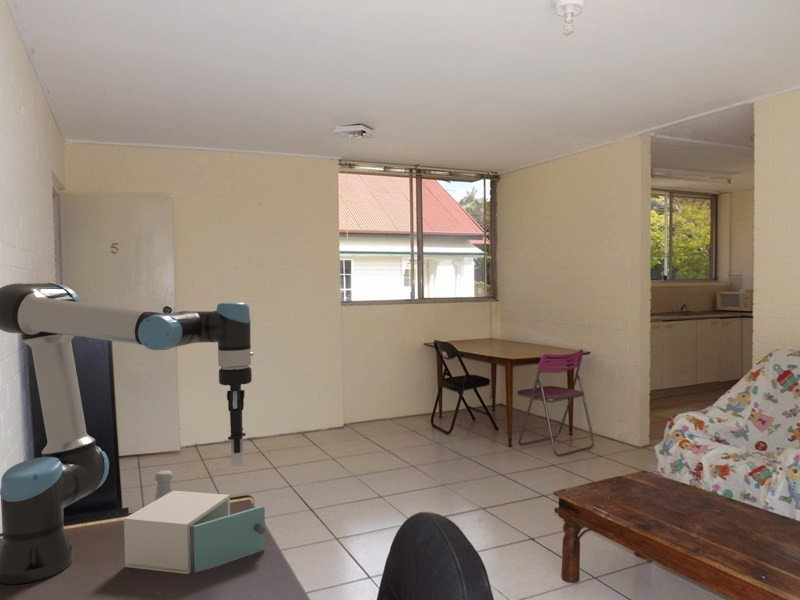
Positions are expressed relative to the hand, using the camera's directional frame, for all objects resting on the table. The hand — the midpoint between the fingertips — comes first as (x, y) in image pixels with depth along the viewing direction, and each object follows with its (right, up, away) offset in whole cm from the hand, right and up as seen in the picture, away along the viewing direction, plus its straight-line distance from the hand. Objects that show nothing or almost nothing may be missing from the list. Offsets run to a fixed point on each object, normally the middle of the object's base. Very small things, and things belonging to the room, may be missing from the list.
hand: (237, 464), depth 138 cm
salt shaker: (-25, -20, +18) cm, 37 cm away
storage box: (-13, -20, -1) cm, 24 cm away
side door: (+1, -20, -7) cm, 21 cm away
